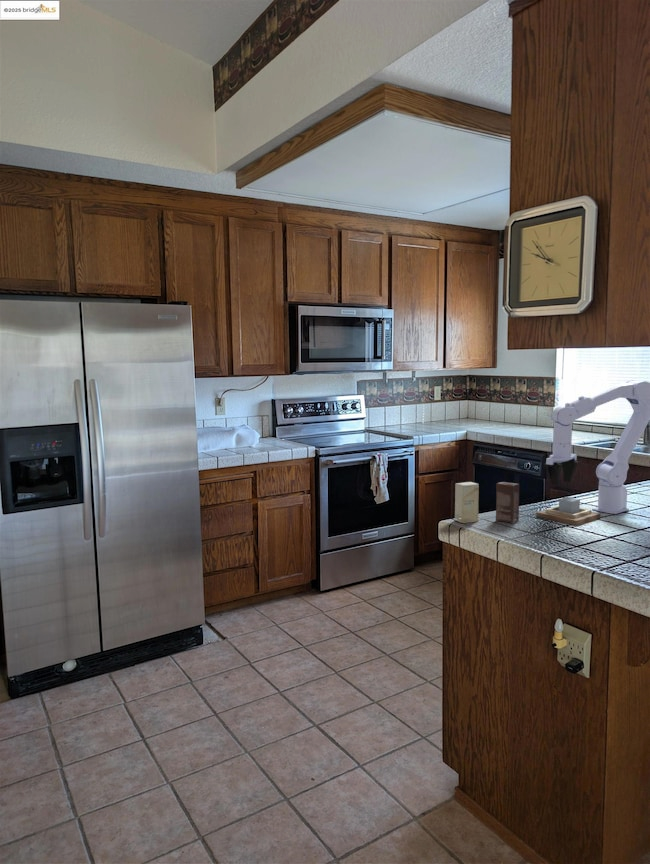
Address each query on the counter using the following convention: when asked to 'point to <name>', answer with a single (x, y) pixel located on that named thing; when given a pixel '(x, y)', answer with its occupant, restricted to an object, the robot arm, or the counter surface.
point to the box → (507, 502)
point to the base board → (568, 516)
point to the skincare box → (466, 502)
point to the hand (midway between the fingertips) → (560, 483)
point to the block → (569, 505)
